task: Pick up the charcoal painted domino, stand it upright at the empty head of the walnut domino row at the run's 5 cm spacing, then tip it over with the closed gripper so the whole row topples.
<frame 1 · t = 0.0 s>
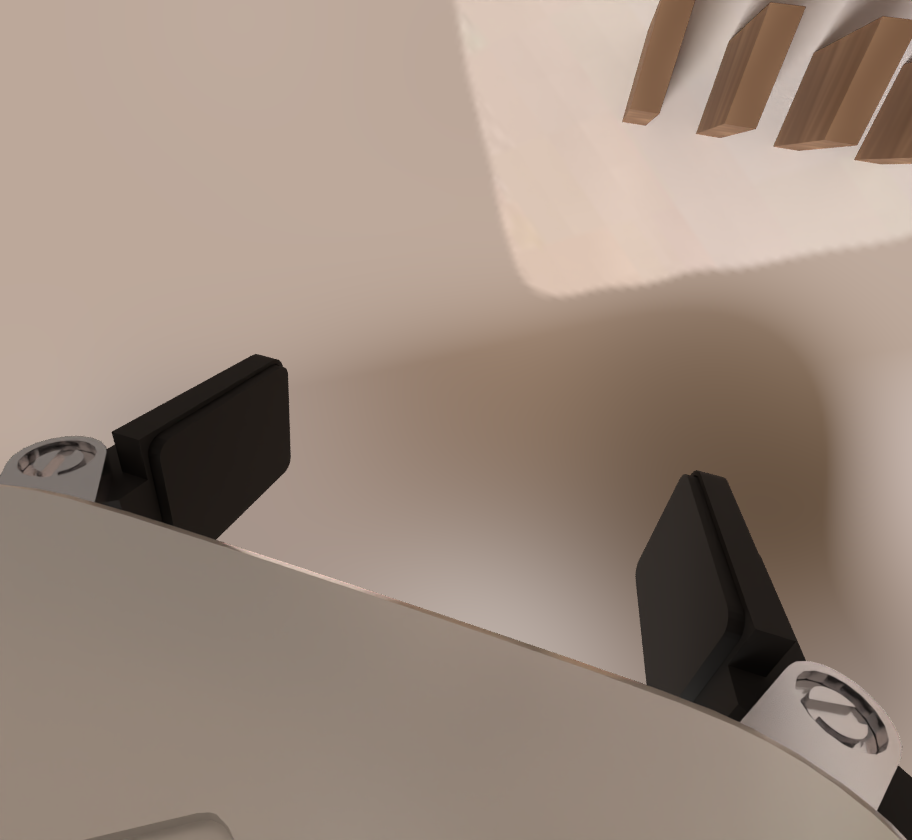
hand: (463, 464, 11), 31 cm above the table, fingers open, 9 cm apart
domino 3: (806, 103, 30), on the table
domino 1: (646, 79, 31), on the table
domino 4: (891, 116, 29), on the table
domino 2: (724, 91, 30), on the table
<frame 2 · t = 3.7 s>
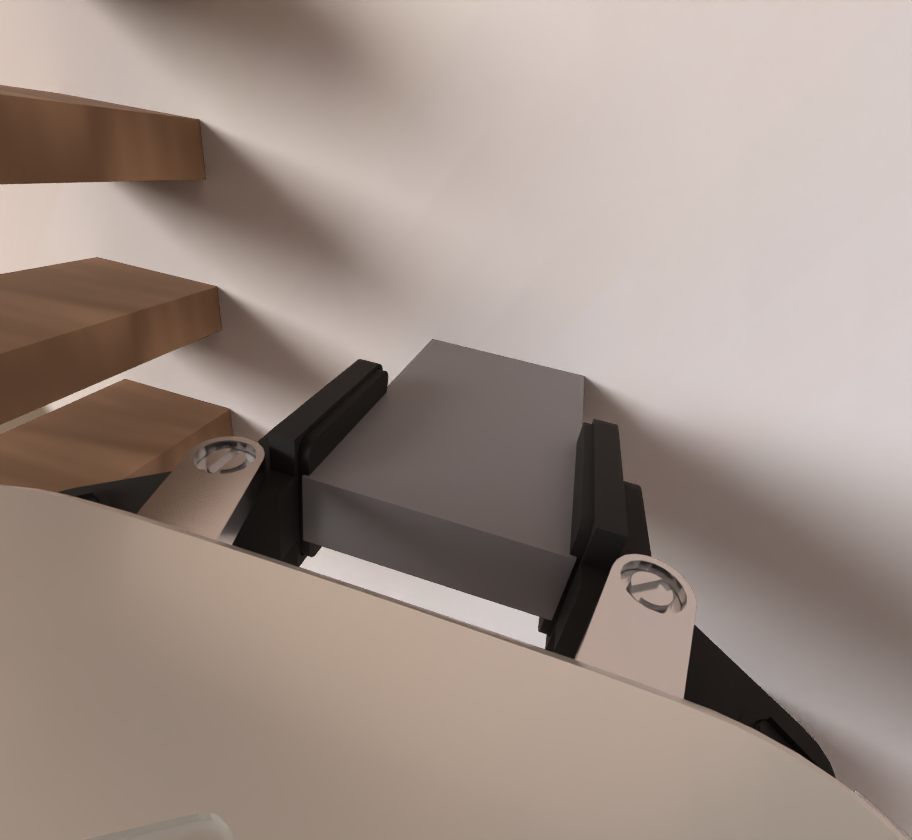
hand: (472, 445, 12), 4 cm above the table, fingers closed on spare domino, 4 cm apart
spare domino: (501, 379, 15), on the table, touching gripper
domino 3: (159, 293, 17), on the table
domino 4: (179, 410, 20), on the table
domino 2: (132, 136, 15), on the table
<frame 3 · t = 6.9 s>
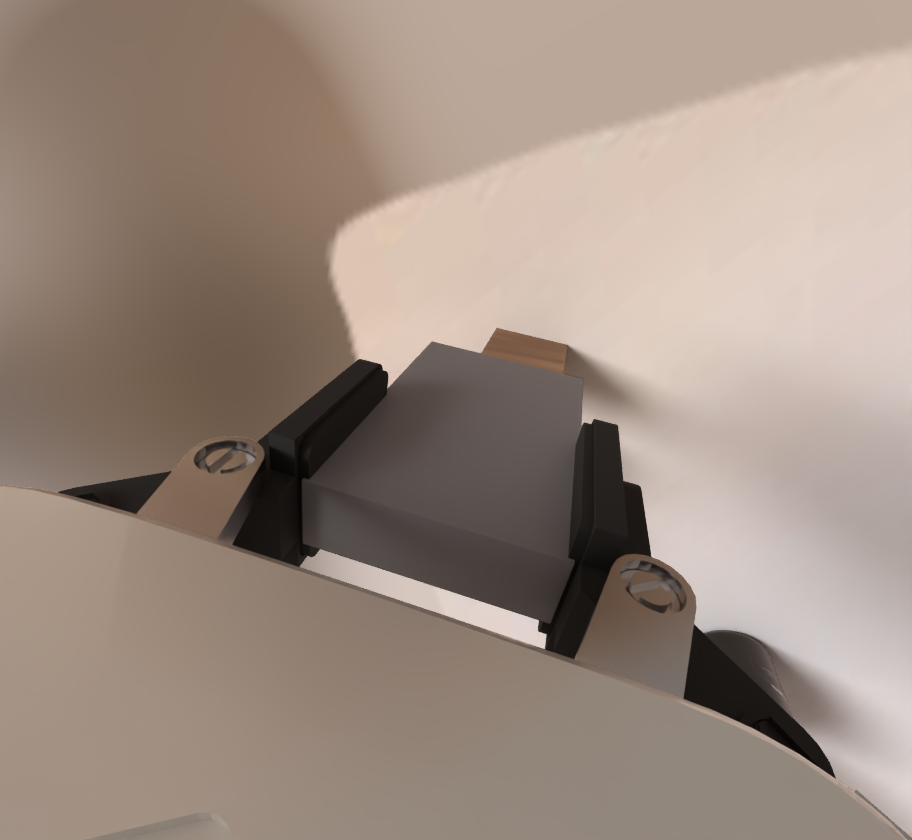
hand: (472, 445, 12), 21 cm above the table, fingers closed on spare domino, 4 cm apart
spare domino: (500, 381, 15), point 17 cm above the table, touching gripper
supplement bottle: (723, 652, 41), on the table
domino 1: (529, 347, 32), on the table
when the fingers open (5 cm above the table, at t = 10.4 s): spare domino stays where it is, on the table.
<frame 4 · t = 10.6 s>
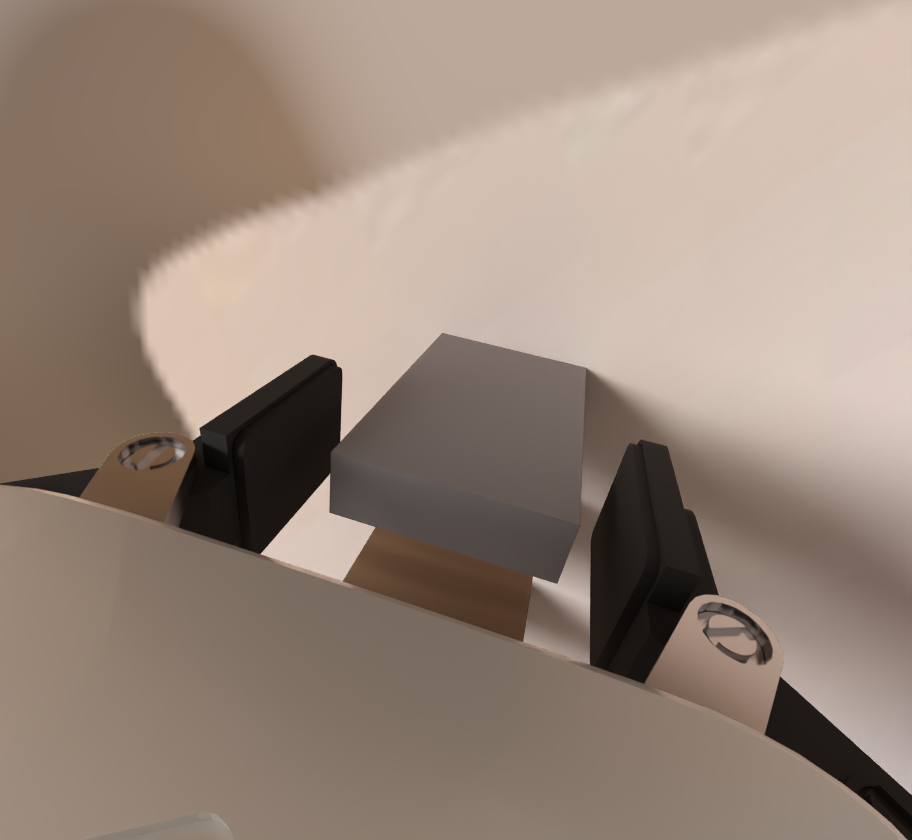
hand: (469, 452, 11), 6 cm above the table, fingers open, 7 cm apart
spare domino: (507, 371, 16), on the table
domino 1: (479, 482, 19), on the table
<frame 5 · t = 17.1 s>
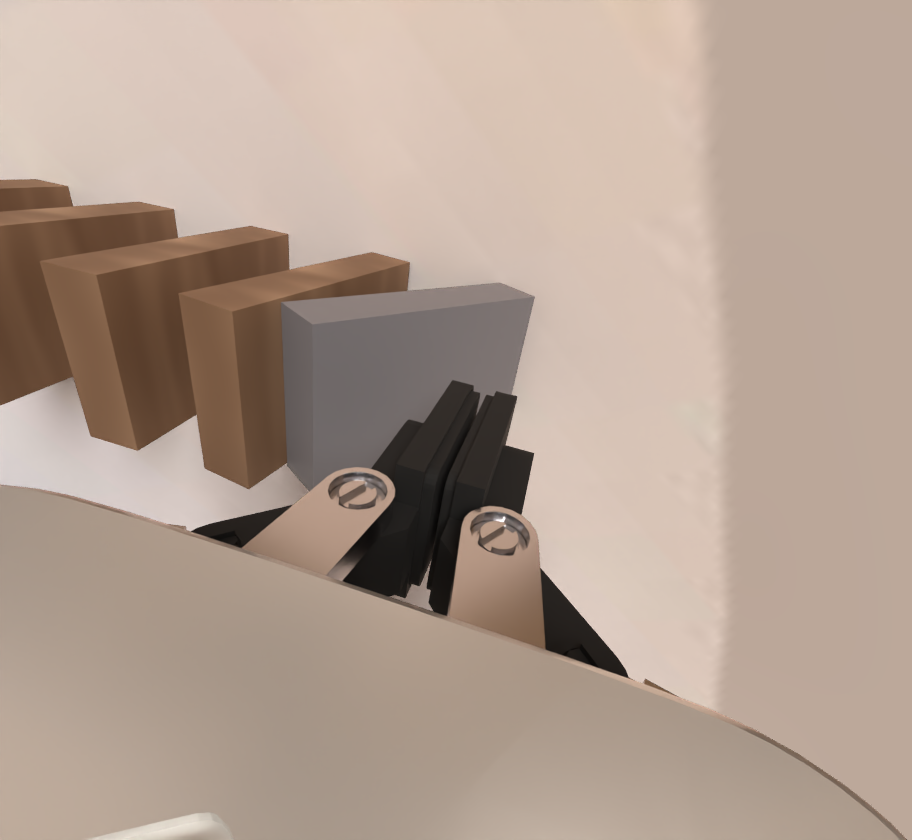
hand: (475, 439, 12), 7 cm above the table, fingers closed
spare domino: (502, 356, 17), on the table, tilted 33°
domino 3: (166, 269, 20), on the table
domino 1: (385, 322, 18), on the table, tilted 9°
domino 4: (68, 245, 20), on the table
domino 2: (272, 294, 19), on the table
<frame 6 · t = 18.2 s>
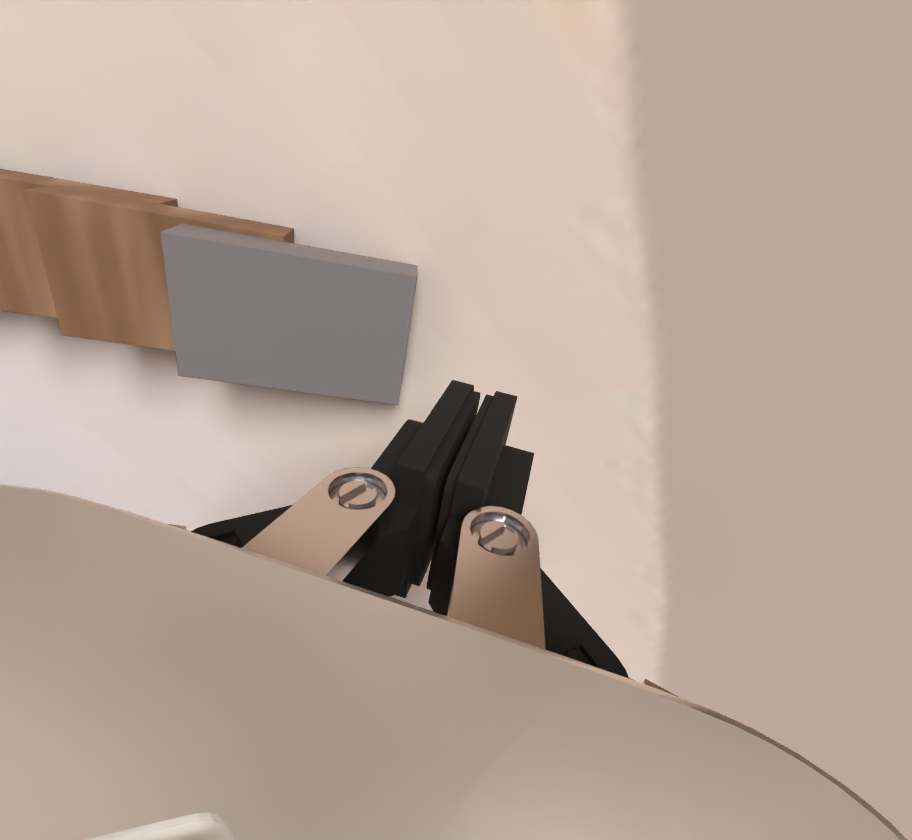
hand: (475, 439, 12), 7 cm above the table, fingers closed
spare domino: (407, 337, 18), point 1 cm above the table, tilted 71°, touching domino 1
domino 1: (288, 299, 18), point 1 cm above the table, tilted 71°, touching domino 2, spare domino
domino 2: (175, 268, 19), point 1 cm above the table, tilted 72°, touching domino 1, domino 3
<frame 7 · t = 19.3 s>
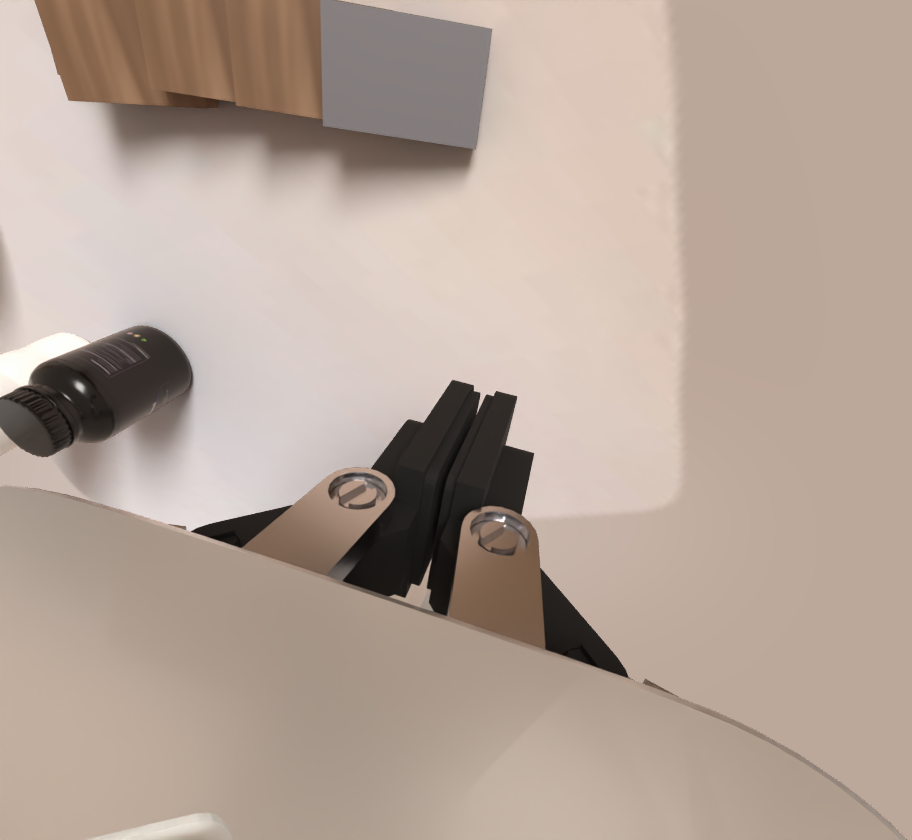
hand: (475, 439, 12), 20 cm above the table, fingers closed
water bottle: (89, 364, 45), on the table
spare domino: (482, 93, 24), point 1 cm above the table, tilted 72°, touching domino 1
domino 3: (202, 55, 27), point 1 cm above the table, tilted 74°
supplement bottle: (163, 358, 42), on the table
domino 1: (391, 74, 25), point 1 cm above the table, tilted 72°, touching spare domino
domino 2: (300, 58, 26), point 1 cm above the table, tilted 73°
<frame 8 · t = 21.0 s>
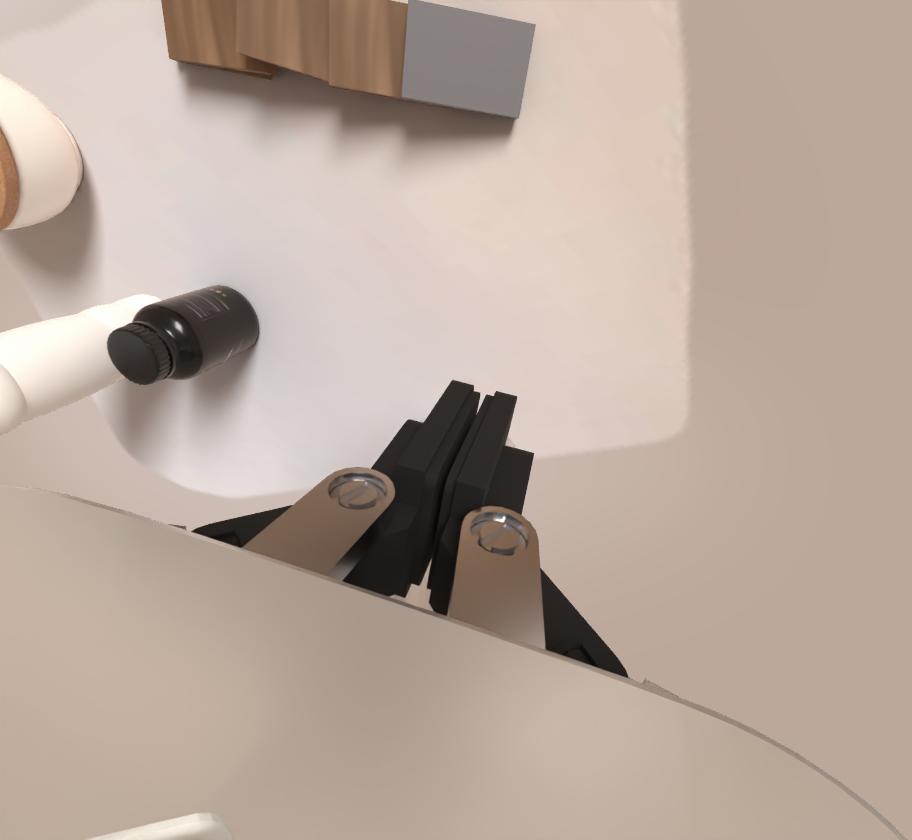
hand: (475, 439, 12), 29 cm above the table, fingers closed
water bottle: (160, 325, 50), on the table
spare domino: (524, 74, 31), point 1 cm above the table, tilted 73°, touching domino 1
domino 3: (269, 30, 33), point 2 cm above the table, tilted 90°, touching domino 4
lidded bowl: (52, 151, 44), on the table
supplement bottle: (232, 317, 47), on the table
domino 1: (449, 63, 32), point 1 cm above the table, tilted 73°, touching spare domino
domino 2: (360, 48, 33), point 1 cm above the table, tilted 70°
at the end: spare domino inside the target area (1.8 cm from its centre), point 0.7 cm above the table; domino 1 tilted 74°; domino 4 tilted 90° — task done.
